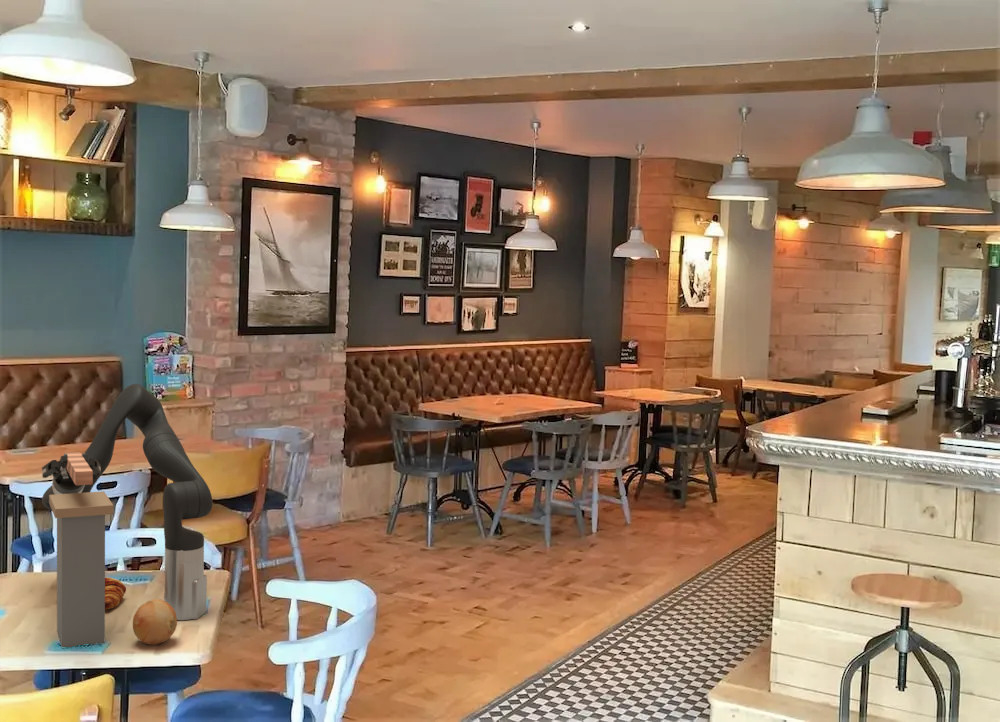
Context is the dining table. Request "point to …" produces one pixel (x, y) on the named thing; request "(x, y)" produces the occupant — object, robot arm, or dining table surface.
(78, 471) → the batten
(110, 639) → the dining table surface
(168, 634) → the onion
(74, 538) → the stand
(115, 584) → the croissant
